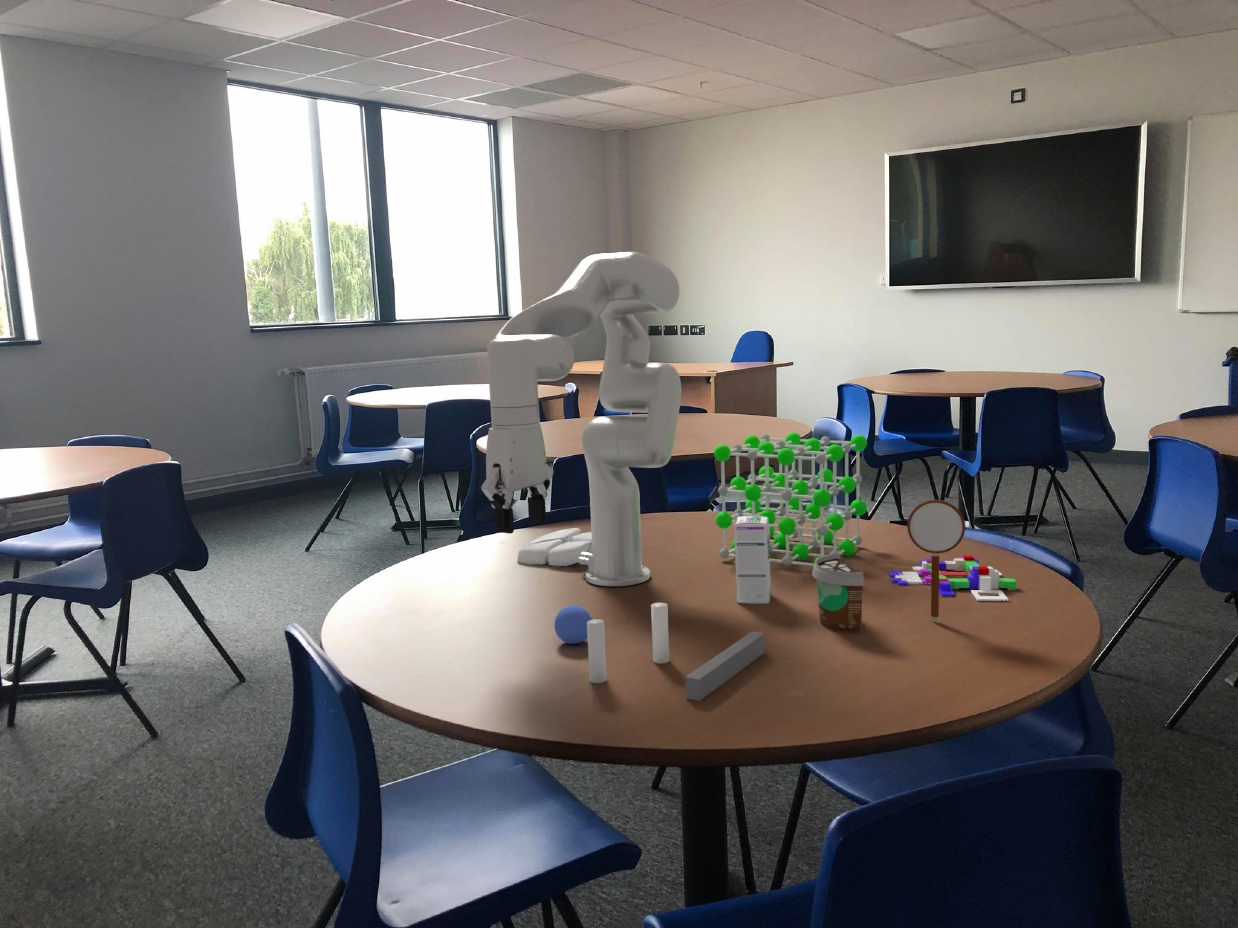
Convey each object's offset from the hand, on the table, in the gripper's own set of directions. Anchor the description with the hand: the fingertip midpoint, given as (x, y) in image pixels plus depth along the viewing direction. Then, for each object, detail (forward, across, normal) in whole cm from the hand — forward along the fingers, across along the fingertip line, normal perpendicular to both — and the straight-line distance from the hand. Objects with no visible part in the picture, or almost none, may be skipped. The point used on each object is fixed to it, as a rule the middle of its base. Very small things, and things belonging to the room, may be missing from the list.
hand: (521, 526), depth 149 cm
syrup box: (+18, -33, +24) cm, 45 cm away
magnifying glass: (+18, -35, +56) cm, 68 cm away
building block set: (+19, -59, +52) cm, 81 cm away
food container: (+18, -27, +42) cm, 53 cm away
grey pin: (+18, +10, +22) cm, 30 cm away
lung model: (+19, -46, -25) cm, 55 cm away
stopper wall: (+18, 0, +36) cm, 41 cm away
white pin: (+18, 0, +26) cm, 31 cm away
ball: (+15, 0, +10) cm, 18 cm away
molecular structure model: (+18, -64, +18) cm, 69 cm away
